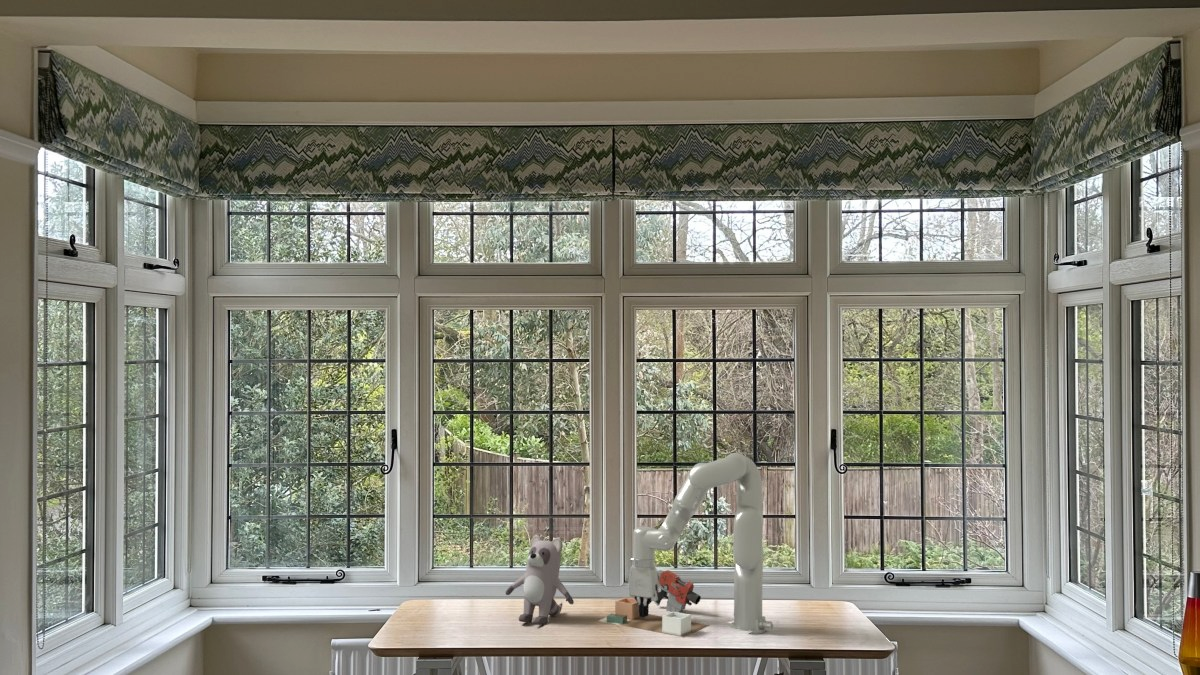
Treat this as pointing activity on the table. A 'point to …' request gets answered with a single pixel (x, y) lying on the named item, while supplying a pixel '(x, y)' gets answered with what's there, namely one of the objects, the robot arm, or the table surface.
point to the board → (655, 624)
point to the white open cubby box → (676, 623)
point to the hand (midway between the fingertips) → (643, 616)
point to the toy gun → (675, 591)
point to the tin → (617, 618)
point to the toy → (541, 581)
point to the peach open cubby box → (627, 608)
